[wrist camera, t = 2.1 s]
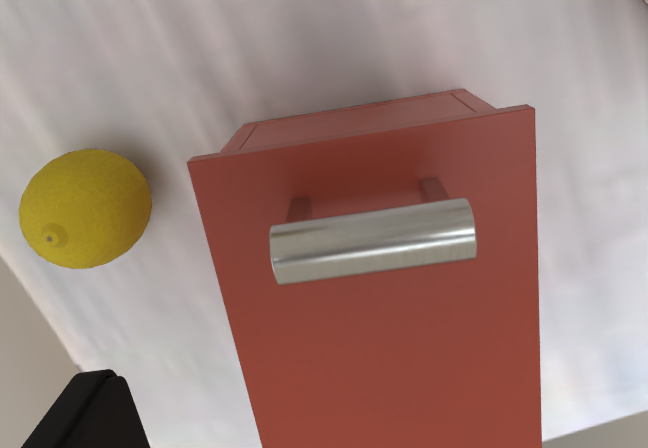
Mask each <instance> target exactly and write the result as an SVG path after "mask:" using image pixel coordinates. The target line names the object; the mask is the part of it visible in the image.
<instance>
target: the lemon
mask: <svg viewBox="0 0 648 448" xmlns="http://www.w3.org/2000/svg"><path fill="white" fill-rule="evenodd" d="M151 208H152V201H151V192H150V189H149V186H148V184H147V181H146V179H145V178H144V176H143V175H142V173H141V172H140V170H139V169H138V168H137V167H136V166H135V165H134V164H133V163H132V162H130V161H129V160H127V159H125V158H124V157H122V156H120V155H118V154H115V153H112V152H109V151H106V150H97V149H85V150H79V151H73V152H69V153H67V154H65V155H63V156H60V157H58V158H56V159H54V160H52V161H51V162H49V163H48V164H47V165H45V166H44V167H43V168H42V169H41V170H40V171H39V172H38V173H37V174H36V175H35V176H34V177H33V178H32V179H31V181H30V183H29V184H28V186H27V188H26V190H25V191H24V193H23V195H22V198H21V203H20V207H19V221H20V227H21V230H22V233H23V235H24V237H25V239H26V240H27V242H28V244H29V245H30V247H31V248H32V249H33V250H34V251H35V252H36V253H37V254H38V255H40V256H41V257H43V258H44V259H46V260H47V261H49V262H51V263H53V264H56V265H58V266H62V267H67V268H72V269H85V268H92V267H96V266H99V265H103V264H106V263H108V262H110V261H112V260H114V259H116V258H117V257H119V256H121V255H122V254H124V253H125V252H127V251H128V250H129V249H130V248H131V247H132V246H133V245H134V244H135V243H136V242H137V241H138V240H139V238H140V237H141V236H142V234H143V232H144V230H145V228H146V226H147V224H148V222H149V219H150V214H151Z"/></svg>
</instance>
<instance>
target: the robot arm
mask: <svg viewBox="0 0 648 448" xmlns="http://www.w3.org/2000/svg"><path fill="white" fill-rule="evenodd" d="M21 448H150V446H149V443H148V440H147V437H146V434H145V431H144V429H143V426H142V423H141V420H140V417H139V415H138V412H137V409H136V406H135V403H134V401H133V398H132V395H131V392H130V389H129V387H128V384H127V382H126V380H125V378H124V377H122V376H117V375H116V373H115V372H114V371H113V370H110V369H106V370H99V371H91V372H83V373H78V374H76V375H75V376H74V377H73V378H72V379H71V381H70V382H69V384H68V385H67V386H66V388H65V389H64V390H63V392H62V393H61V394H60V396H59V397H58V398H57V400H56V401H55V403H54V404H53V405H52V407H51V408H50V409H49V411H48V412H47V413H46V415H45V416H44V418H43V419H42V420H41V421H40V423H39V424H38V425H37V427H36V428H35V429H34V431H33V432H32V434H31V435H30V436H29V438H28V439H27V440H26V442H25V443H24V444H23V446H22V447H21Z"/></svg>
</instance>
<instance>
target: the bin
mask: <svg viewBox="0 0 648 448" xmlns="http://www.w3.org/2000/svg"><path fill="white" fill-rule="evenodd" d="M494 109H496V108H494V107H493V106H491V105H489V104H488V103H486V102H485V101H483V100H481V99H480V98H478V97H476V96H475V95H473V94H472V93H470V92H468V91H467V90H466V89H458V90H452V91H446V92H440V93H434V94H428V95H421V96H415V97H409V98H403V99H397V100H390V101H384V102H378V103H372V104H366V105H360V106H353V107H347V108H341V109H335V110H329V111H322V112H316V113H310V114H304V115H298V116H291V117H285V118H279V119H273V120H267V121H261V122H254V123H248V124H243V125H242V127H241V128H240V129H239V130H238V131H237V133H236V134H235V135H234V136H233V137H232V139H231V140H230V141H229V142H228V143H227V145H226V146H225V147H224V148H223V149H222V151H221V152H227V151H234V150H240V149H246V148H253V147H259V146H265V145H272V144H278V143H284V142H291V141H297V140H303V139H310V138H316V137H322V136H329V135H335V134H341V133H348V132H354V131H360V130H367V129H373V128H379V127H386V126H392V125H398V124H405V123H411V122H417V121H424V120H430V119H436V118H443V117H449V116H455V115H462V114H468V113H474V112H481V111H487V110H494ZM221 152H220V153H221Z"/></svg>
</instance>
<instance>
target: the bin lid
mask: <svg viewBox="0 0 648 448" xmlns="http://www.w3.org/2000/svg"><path fill="white" fill-rule="evenodd" d="M187 165H188V169H189V173H190V177H191V180H192V184H193V188H194V192H195V195H196V199H197V203H198V207H199V211H200V214H201V218H202V222H203V226H204V229H205V233H206V237H207V241H208V244H209V248H210V252H211V256H212V259H213V263H214V267H215V271H216V274H217V278H218V282H219V286H220V289H221V293H222V297H223V301H224V305H225V308H226V312H227V316H228V320H229V323H230V327H231V331H232V335H233V338H234V342H235V346H236V350H237V353H238V357H239V361H240V365H241V368H242V372H243V376H244V380H245V383H246V387H247V391H248V395H249V399H250V402H251V406H252V410H253V414H254V417H255V421H256V425H257V429H258V432H259V436H260V440H261V444H262V447H263V448H542V434H541V385H540V335H539V286H538V237H537V188H536V139H535V108H533V107H531V106H529V105H527V104H525V105H519V106H513V107H506V108H500V109H494V110H487V111H481V112H474V113H468V114H462V115H455V116H449V117H443V118H436V119H430V120H424V121H417V122H411V123H405V124H398V125H392V126H386V127H379V128H373V129H367V130H360V131H354V132H348V133H341V134H335V135H329V136H322V137H316V138H310V139H303V140H297V141H291V142H284V143H278V144H272V145H265V146H259V147H253V148H246V149H240V150H234V151H227V152H221V153H215V154H208V155H202V156H196V157H192V158H191V159H190V160H189V161H188V162H187Z"/></svg>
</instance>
